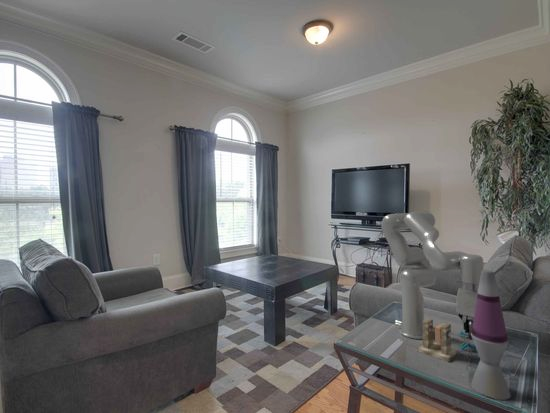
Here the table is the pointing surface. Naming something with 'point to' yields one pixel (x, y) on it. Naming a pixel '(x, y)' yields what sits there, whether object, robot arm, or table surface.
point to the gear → (466, 343)
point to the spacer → (438, 334)
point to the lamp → (489, 339)
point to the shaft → (458, 336)
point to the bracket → (433, 348)
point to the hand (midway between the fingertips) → (473, 333)
